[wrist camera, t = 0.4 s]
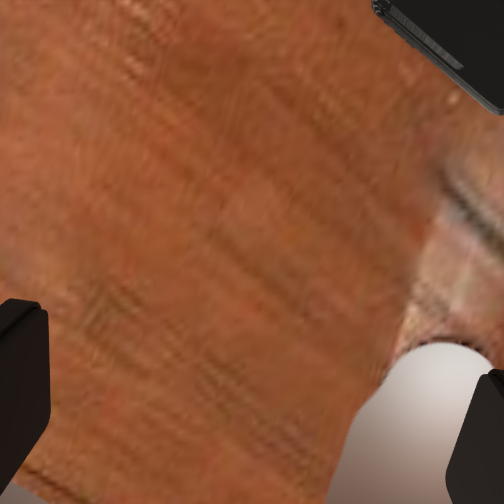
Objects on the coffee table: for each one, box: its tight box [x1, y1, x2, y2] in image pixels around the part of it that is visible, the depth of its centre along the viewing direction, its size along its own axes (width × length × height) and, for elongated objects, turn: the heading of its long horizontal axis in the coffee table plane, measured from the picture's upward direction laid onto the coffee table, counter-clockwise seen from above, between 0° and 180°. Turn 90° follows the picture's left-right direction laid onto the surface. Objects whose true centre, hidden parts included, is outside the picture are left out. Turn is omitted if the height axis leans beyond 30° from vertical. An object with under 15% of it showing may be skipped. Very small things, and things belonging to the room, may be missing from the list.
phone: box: [371, 0, 504, 115], centre depth 38 cm, size 8×1×15 cm
